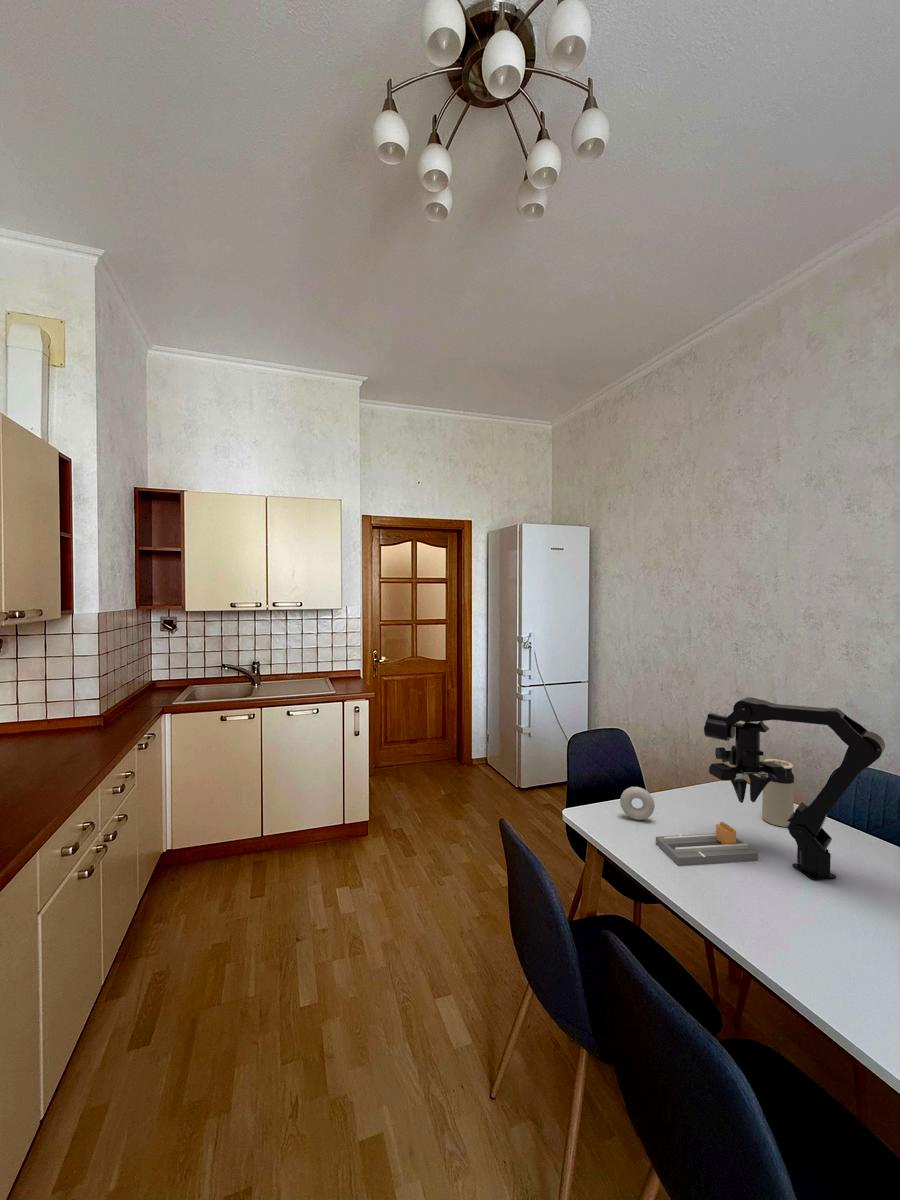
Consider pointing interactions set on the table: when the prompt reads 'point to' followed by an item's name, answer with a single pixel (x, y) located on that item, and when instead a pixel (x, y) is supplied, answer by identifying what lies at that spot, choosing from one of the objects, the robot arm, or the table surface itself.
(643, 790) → the donut
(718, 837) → the fader cap
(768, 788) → the travel mug
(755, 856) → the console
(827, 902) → the table surface
